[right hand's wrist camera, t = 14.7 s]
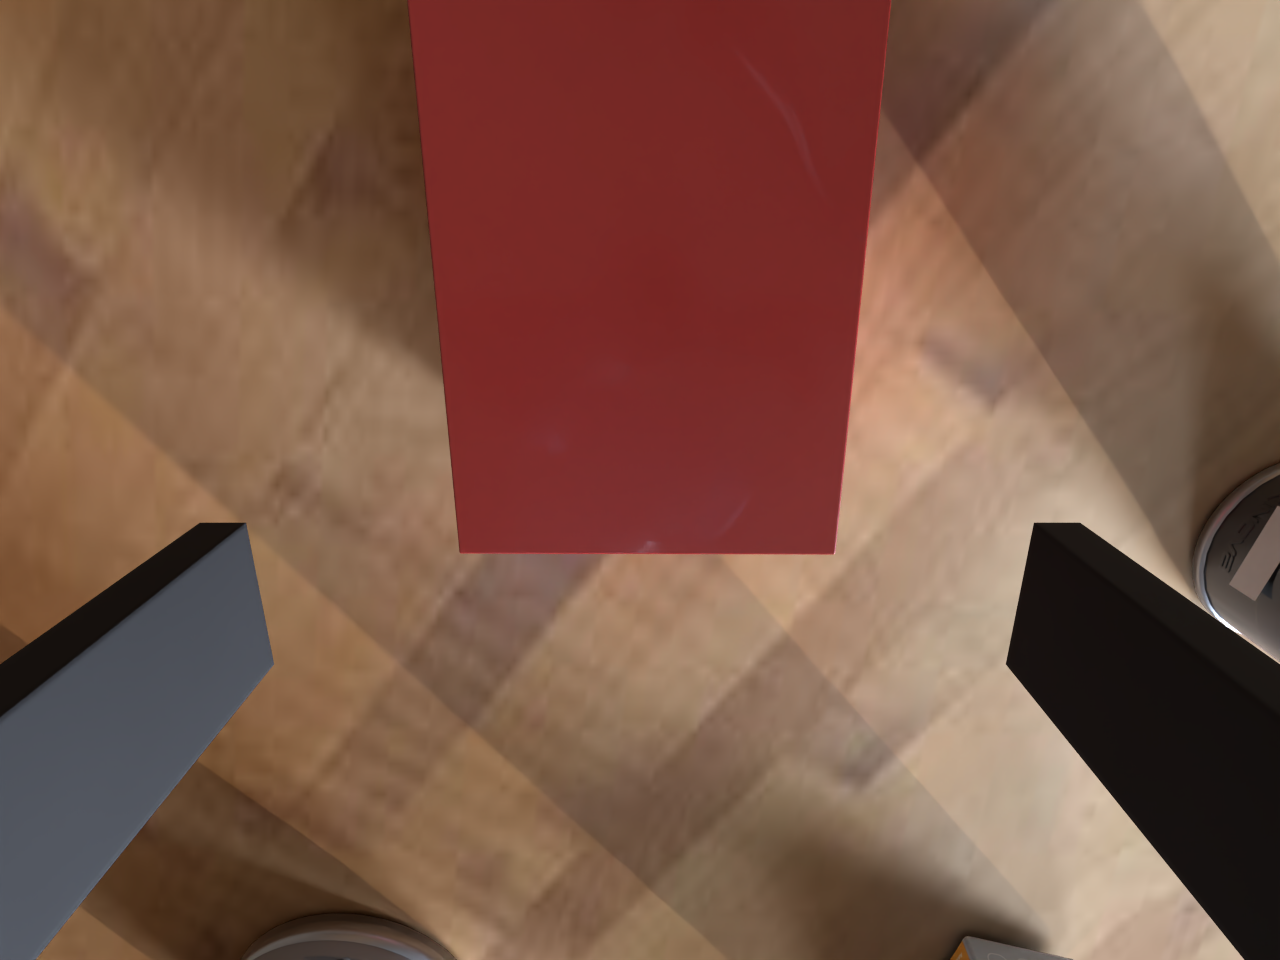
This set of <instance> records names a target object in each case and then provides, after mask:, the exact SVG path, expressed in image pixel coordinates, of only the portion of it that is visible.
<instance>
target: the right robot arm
mask: <svg viewBox="0 0 1280 960" xmlns="http://www.w3.org/2000/svg"><path fill="white" fill-rule="evenodd" d="M273 665H274V662H273V656H272V651H271V646H270V641H269V636H268V631H267V626H266V621H265V616H264V611H263V606H262V601H261V596H260V591H259V586H258V581H257V576H256V571H255V566H254V561H253V556H252V551H251V546H250V541H249V536H248V531H247V526H246V523H199V524H198V525H196V526H195V527H193V528H192V529H191V530H189V531H188V532H186V533H185V534H183V535H182V536H181V537H179V538H178V539H176V540H175V541H174V542H172V543H171V544H169V545H168V546H167V547H165V548H164V549H162V550H161V551H159V552H158V553H157V554H155V555H154V556H152V557H151V558H150V559H148V560H147V561H145V562H144V563H143V564H141V565H140V566H138V567H137V568H136V569H134V570H133V571H131V572H130V573H128V574H127V575H126V576H124V577H123V578H121V579H120V580H119V581H117V582H116V583H114V584H113V585H112V586H110V587H109V588H107V589H106V590H104V591H103V592H102V593H100V594H99V595H97V596H96V597H95V598H93V599H92V600H90V601H89V602H88V603H86V604H85V605H83V606H82V607H81V608H79V609H78V610H76V611H75V612H73V613H72V614H71V615H69V616H68V617H66V618H65V619H64V620H62V621H61V622H59V623H58V624H57V625H55V626H54V627H52V628H51V629H49V630H48V631H47V632H45V633H44V634H42V635H41V636H40V637H38V638H37V639H35V640H34V641H33V642H31V643H30V644H28V645H27V646H25V647H24V648H23V649H21V650H20V651H18V652H17V653H16V654H14V655H13V656H11V657H10V658H9V659H7V660H6V661H4V662H3V663H2V664H0V960H36V958H37V957H38V956H39V955H40V954H41V952H42V951H43V950H44V949H45V947H46V946H47V945H48V944H49V942H50V941H51V940H52V939H53V937H54V936H55V935H56V934H57V932H58V931H59V930H60V929H61V928H62V926H63V925H64V924H65V923H66V921H67V920H68V919H69V918H70V916H71V915H72V914H73V913H74V911H75V910H76V909H77V908H78V906H79V905H80V904H81V903H82V901H83V900H84V899H85V898H86V897H87V895H88V894H89V893H90V892H91V890H92V889H93V888H94V887H95V885H96V884H97V883H98V882H99V880H100V879H101V878H102V877H103V875H104V874H105V873H106V872H107V871H108V869H109V868H110V867H111V866H112V864H113V863H114V862H115V861H116V859H117V858H118V857H119V856H120V854H121V853H122V852H123V851H124V849H125V848H126V847H127V846H128V845H129V843H130V842H131V841H132V840H133V838H134V837H135V836H136V835H137V833H138V832H139V831H140V830H141V828H142V827H143V826H144V825H145V823H146V822H147V821H148V820H149V818H150V817H151V816H152V815H153V814H154V812H155V811H156V810H157V809H158V807H159V806H160V805H161V804H162V802H163V801H164V800H165V799H166V797H167V796H168V795H169V794H170V792H171V791H172V790H173V789H174V788H175V786H176V785H177V784H178V783H179V781H180V780H181V779H182V778H183V776H184V775H185V774H186V773H187V771H188V770H189V769H190V768H191V766H192V765H193V764H194V763H195V762H196V760H197V759H198V758H199V757H200V755H201V754H202V753H203V752H204V750H205V749H206V748H207V747H208V745H209V744H210V743H211V742H212V740H213V739H214V738H215V737H216V735H217V734H218V733H219V732H220V731H221V729H222V728H223V727H224V726H225V724H226V723H227V722H228V721H229V719H230V718H231V717H232V716H233V714H234V713H235V712H236V711H237V709H238V708H239V707H240V706H241V705H242V703H243V702H244V701H245V700H246V698H247V697H248V696H249V695H250V693H251V692H252V691H253V690H254V688H255V687H256V686H257V685H258V683H259V682H260V681H261V680H262V679H263V677H264V676H265V675H266V674H267V672H268V671H269V670H270V669H271V667H272V666H273ZM1006 665H1007V666H1008V667H1009V669H1010V670H1011V671H1012V672H1013V674H1014V675H1015V676H1016V677H1017V679H1018V680H1019V681H1020V682H1021V683H1022V685H1023V686H1024V687H1025V688H1026V690H1027V691H1028V692H1029V693H1030V695H1031V696H1032V697H1033V698H1034V700H1035V701H1036V702H1037V703H1038V705H1039V706H1040V707H1041V708H1042V709H1043V711H1044V712H1045V713H1046V714H1047V716H1048V717H1049V718H1050V719H1051V721H1052V722H1053V723H1054V724H1055V726H1056V727H1057V728H1058V729H1059V731H1060V732H1061V733H1062V734H1063V735H1064V737H1065V738H1066V739H1067V740H1068V742H1069V743H1070V744H1071V745H1072V747H1073V748H1074V749H1075V750H1076V752H1077V753H1078V754H1079V755H1080V757H1081V758H1082V759H1083V760H1084V762H1085V763H1086V764H1087V765H1088V766H1089V768H1090V769H1091V770H1092V771H1093V773H1094V774H1095V775H1096V776H1097V778H1098V779H1099V780H1100V781H1101V783H1102V784H1103V785H1104V786H1105V788H1106V789H1107V790H1108V791H1109V792H1110V794H1111V795H1112V796H1113V797H1114V799H1115V800H1116V801H1117V802H1118V804H1119V805H1120V806H1121V807H1122V809H1123V810H1124V811H1125V812H1126V814H1127V815H1128V816H1129V817H1130V818H1131V820H1132V821H1133V822H1134V823H1135V825H1136V826H1137V827H1138V828H1139V830H1140V831H1141V832H1142V833H1143V835H1144V836H1145V837H1146V838H1147V840H1148V841H1149V842H1150V843H1151V845H1152V846H1153V847H1154V848H1155V849H1156V851H1157V852H1158V853H1159V854H1160V856H1161V857H1162V858H1163V859H1164V861H1165V862H1166V863H1167V864H1168V866H1169V867H1170V868H1171V869H1172V871H1173V872H1174V873H1175V874H1176V875H1177V877H1178V878H1179V879H1180V880H1181V882H1182V883H1183V884H1184V885H1185V887H1186V888H1187V889H1188V890H1189V892H1190V893H1191V894H1192V895H1193V897H1194V898H1195V899H1196V900H1197V901H1198V903H1199V904H1200V905H1201V906H1202V908H1203V909H1204V910H1205V911H1206V913H1207V914H1208V915H1209V916H1210V918H1211V919H1212V920H1213V921H1214V923H1215V924H1216V925H1217V926H1218V928H1219V929H1220V930H1221V931H1222V932H1223V934H1224V935H1225V936H1226V937H1227V939H1228V940H1229V941H1230V942H1231V944H1232V945H1233V946H1234V947H1235V949H1236V950H1237V951H1238V952H1239V954H1240V955H1241V956H1242V957H1243V958H1244V960H1280V664H1278V663H1277V662H1276V661H1274V660H1273V659H1271V658H1270V657H1269V656H1267V655H1266V654H1264V653H1263V652H1262V651H1260V650H1259V649H1257V648H1256V647H1255V646H1253V645H1252V644H1250V643H1249V642H1247V641H1246V640H1245V639H1243V638H1242V637H1240V636H1239V635H1238V634H1236V633H1235V632H1233V631H1232V630H1231V629H1229V628H1228V627H1226V626H1225V625H1223V624H1222V623H1221V622H1219V621H1218V620H1216V619H1215V618H1214V617H1212V616H1211V615H1209V614H1208V613H1207V612H1205V611H1204V610H1202V609H1201V608H1199V607H1198V606H1197V605H1195V604H1194V603H1192V602H1191V601H1190V600H1188V599H1187V598H1185V597H1184V596H1183V595H1181V594H1180V593H1178V592H1177V591H1176V590H1174V589H1173V588H1171V587H1170V586H1168V585H1167V584H1166V583H1164V582H1163V581H1161V580H1160V579H1159V578H1157V577H1156V576H1154V575H1153V574H1152V573H1150V572H1149V571H1147V570H1146V569H1144V568H1143V567H1142V566H1140V565H1139V564H1137V563H1136V562H1135V561H1133V560H1132V559H1130V558H1129V557H1128V556H1126V555H1125V554H1123V553H1122V552H1121V551H1119V550H1118V549H1116V548H1115V547H1113V546H1112V545H1111V544H1109V543H1108V542H1106V541H1105V540H1104V539H1102V538H1101V537H1099V536H1098V535H1097V534H1095V533H1094V532H1092V531H1091V530H1089V529H1088V528H1087V527H1085V526H1084V525H1082V524H1081V523H1034V526H1033V531H1032V536H1031V541H1030V546H1029V551H1028V556H1027V561H1026V566H1025V571H1024V576H1023V581H1022V586H1021V591H1020V596H1019V601H1018V606H1017V611H1016V616H1015V621H1014V626H1013V631H1012V636H1011V641H1010V646H1009V651H1008V656H1007V662H1006ZM241 960H456V959H455V958H454V957H453V956H452V955H451V954H450V953H449V952H448V951H447V950H446V949H444V948H443V947H442V946H441V945H439V944H438V943H436V942H435V941H433V940H432V939H430V938H428V937H427V936H425V935H423V934H421V933H419V932H417V931H415V930H413V929H411V928H409V927H406V926H403V925H401V924H398V923H395V922H392V921H388V920H385V919H381V918H376V917H371V916H365V915H357V914H321V915H314V916H308V917H303V918H299V919H296V920H292V921H289V922H287V923H284V924H282V925H279V926H277V927H275V928H273V929H272V930H270V931H268V932H267V933H265V934H264V935H262V936H261V937H259V938H258V939H257V940H256V941H255V942H254V943H253V944H252V945H251V946H250V947H249V948H248V949H247V951H246V952H245V953H244V955H243V956H242V958H241Z"/></svg>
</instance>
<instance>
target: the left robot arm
mask: <svg viewBox="0 0 1280 960" xmlns="http://www.w3.org/2000/svg"><path fill="white" fill-rule="evenodd" d="M1192 576H1193V583H1194V587H1195V590H1196V593H1197V595H1198V597H1199V599H1200V601H1201V603H1202V604H1203V606H1204V607H1205V608H1206V609H1207V611H1208V612H1209V613H1210V614H1211V615H1213V616H1214V617H1215V618H1216V619H1218V620H1219V621H1220V622H1222V623H1223V624H1224V625H1226V626H1227V627H1229V628H1230V629H1232V630H1234V631H1236V632H1238V633H1240V634H1242V635H1244V636H1245V637H1246V638H1248V639H1249V640H1251V641H1252V642H1253V643H1255V644H1256V645H1257V646H1259V647H1260V648H1262V649H1263V650H1264V651H1266V652H1267V653H1268V654H1270V655H1271V656H1273V657H1274V658H1275V659H1277V660H1278V661H1279V662H1280V463H1278V464H1276V465H1273V466H1271V467H1269V468H1267V469H1265V470H1263V471H1261V472H1259V473H1258V474H1256V475H1254V476H1253V477H1251V478H1250V479H1248V480H1247V481H1245V482H1244V483H1243V484H1241V485H1240V486H1239V487H1237V488H1236V489H1235V490H1234V491H1233V492H1232V493H1230V494H1229V495H1228V496H1227V497H1226V498H1225V499H1224V500H1223V501H1222V503H1221V504H1220V505H1219V506H1218V507H1217V508H1216V510H1215V511H1214V512H1213V514H1212V515H1211V516H1210V518H1209V519H1208V521H1207V523H1206V524H1205V526H1204V528H1203V530H1202V532H1201V534H1200V536H1199V539H1198V541H1197V544H1196V547H1195V551H1194V556H1193V562H1192Z"/></svg>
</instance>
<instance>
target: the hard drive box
mask: <svg viewBox="0 0 1280 960" xmlns="http://www.w3.org/2000/svg"><path fill="white" fill-rule="evenodd" d="M950 960H1073V959H1070V958H1064V957H1060V956H1056V955H1051V954H1047V953H1042V952H1037V951H1033V950H1029V949H1024V948H1020V947H1015V946H1011V945H1006V944H1002V943H997V942H993V941H988V940H984V939H979V938H975V937H970V936H966V937H964V939H963V940H962V942H961V943H960V945H959V946H958V948H957V950H956V951H955V953H954V954H953V956H952V957H951V959H950Z"/></svg>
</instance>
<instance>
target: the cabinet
mask: <svg viewBox="0 0 1280 960" xmlns="http://www.w3.org/2000/svg"><path fill="white" fill-rule="evenodd" d="M407 3H408V14H409V25H410V35H411V46H412V56H413V67H414V77H415V88H416V98H417V109H418V119H419V130H420V140H421V151H422V161H423V172H424V182H425V193H426V204H427V214H428V225H429V235H430V246H431V256H432V267H433V277H434V288H435V298H436V309H437V319H438V330H439V340H440V351H441V361H442V372H443V383H444V393H445V404H446V414H447V425H448V435H449V446H450V456H451V467H452V477H453V488H454V498H455V509H456V519H457V530H458V540H459V551H460V553H506V554H835V550H836V541H837V531H838V521H839V511H840V501H841V491H842V481H843V472H844V462H845V452H846V442H847V432H848V422H849V413H850V403H851V393H852V383H853V373H854V363H855V354H856V344H857V334H858V324H859V314H860V304H861V295H862V285H863V275H864V265H865V255H866V245H867V235H868V226H869V216H870V206H871V196H872V186H873V176H874V167H875V157H876V147H877V137H878V127H879V117H880V108H881V98H882V88H883V78H884V68H885V58H886V48H887V39H888V29H889V19H890V9H891V0H407Z"/></svg>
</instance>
